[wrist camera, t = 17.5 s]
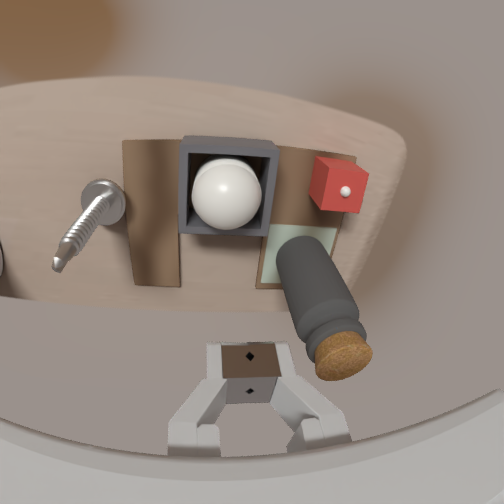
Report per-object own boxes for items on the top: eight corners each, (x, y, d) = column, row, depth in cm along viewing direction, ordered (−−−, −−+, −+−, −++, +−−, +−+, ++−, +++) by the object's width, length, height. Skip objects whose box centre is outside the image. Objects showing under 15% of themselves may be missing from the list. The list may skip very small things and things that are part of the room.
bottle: (332, 261, 34) (385, 362, 22) (289, 285, 35) (324, 392, 23) (312, 225, 31) (370, 328, 19) (265, 252, 32) (296, 365, 20)
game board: (135, 282, 34) (134, 285, 33) (123, 140, 25) (121, 141, 24) (321, 286, 37) (322, 289, 36) (354, 156, 28) (357, 158, 28)
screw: (125, 168, 26) (135, 212, 29) (83, 177, 26) (95, 219, 29) (70, 232, 15) (95, 294, 18) (17, 242, 15) (44, 298, 18)
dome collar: (182, 214, 29) (178, 233, 26) (184, 135, 25) (179, 144, 22) (261, 217, 30) (267, 236, 27) (271, 140, 26) (280, 150, 23)
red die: (308, 193, 30) (322, 212, 26) (315, 156, 27) (331, 169, 24) (343, 197, 30) (361, 215, 26) (351, 161, 28) (371, 175, 24)
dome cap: (194, 207, 28) (189, 241, 23) (196, 150, 25) (190, 171, 20) (252, 210, 29) (261, 243, 23) (258, 154, 26) (270, 175, 20)
